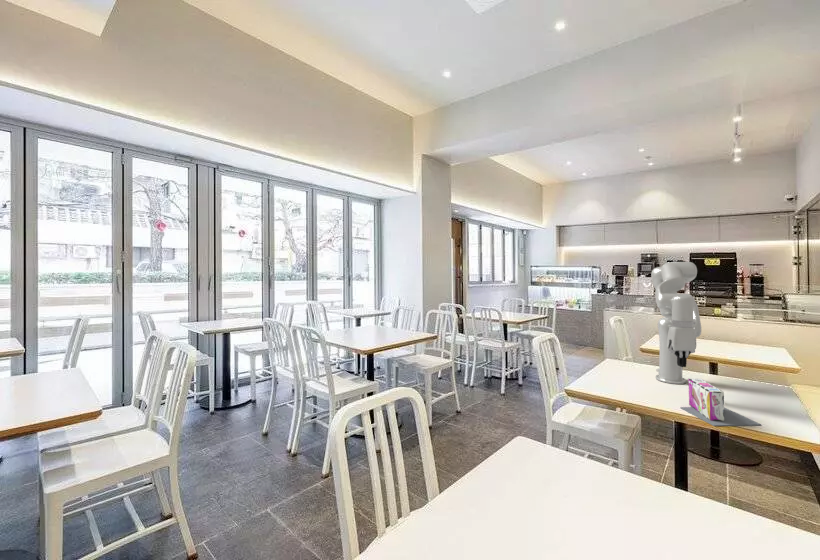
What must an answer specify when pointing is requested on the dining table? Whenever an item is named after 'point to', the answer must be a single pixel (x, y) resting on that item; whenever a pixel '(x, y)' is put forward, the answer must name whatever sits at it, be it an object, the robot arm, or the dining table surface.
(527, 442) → the dining table surface
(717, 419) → the candy bar box
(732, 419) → the mat
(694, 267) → the robot arm
